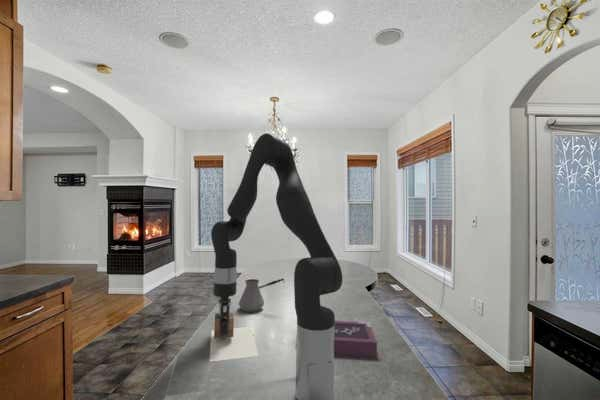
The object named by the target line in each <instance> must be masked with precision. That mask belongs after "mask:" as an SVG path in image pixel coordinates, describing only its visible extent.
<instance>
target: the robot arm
mask: <svg viewBox="0 0 600 400" xmlns="http://www.w3.org/2000/svg"><path fill="white" fill-rule="evenodd" d="M264 165H267V166H269V167H271V168H273V169H274V172H275V174H276V175H277V179H278V186H277V191H276V195H275V202H276V206H277V209H278V212H279V215H280V218H281V220H282V222H283V224H284V225H285V226H286V227H287V228H288V229H289V231H290V232H291V233H293V234H294V235H295V237H297V239H299V240H300V241H301V242H302V244H303V245H304V246H305V248H306V249H307V252H308V253H309V255H310V257H304V258H301V259H299V260H298V261H297V262H296V264H295V268H294V273H293V286H294V287H293V290H294V293H293V294H294V308H295V315H296V337H297V346H295V347H296V350H295V352H296V353H295V355H296V356H295V357H296V358H295V360H296V361H295V398H296V400H297V399H298V400H334V393H335V392H334V391H335V389H334V387H335V385H334V384H335V354H334V331H335V321H336V320H335V312H334V311H333V310H332V309H330V308H329V307H326V306H323V305H322V304H321V296H323V295H328V294H332V293H335V292H337V291H339V290H340V289H341V287H342V284H343V272H342V268H341V266H340V263H339V260H338V259H337V257H336V255H335V254H334V253H335V252H333V249H332V248H331V246H330V244H329V242H328V240H327V238H326V236H325V235H324V233H323V230H322V228H321V226H320V222H319V221H318V219H317V216H316V214H315V212H314V209H313V206H312V203H311V200H310V198H309V196H308V193H307V192H306V190H305V187H304V185H303V182H302V179H301V177H300V175H299V172H298V168H297V165H296V162H295V157H294V154H293V150H292V148H291V146H290V145H289V143H288V142H287V141H284V140H283V139H281V138H279V137H278V136H275V135H273V134H272V133H268V132H267V133H263V134H262V135H260V136H259V137H258V138H257V140H256V142H255V144H254V146H253V147H252V150H251V153H250V156H249V158H248V162H247V164H246V167H245V170H244V173H243V175H242V179H241V182H240V184H239V186H238V187H237V190H236V192H235V195H234V196H233V197H232V200H231V201H230V203H229V205H228V208H227V211H226V212H227V215H228V216H230V218H229V220H227V221H226V220H225V221H222V220H221V221H217V222H216V223H214V225H213V226H212V227H211V228H212V229H211V232H210V234H211V235H210V237H211V242H212V247H213V250H214V255H215V258H214V260H215V261H214V272H213V289H212V290H213V293H212V294H213V296H214V297H217V298H218V297H219V298H220V299H218V308H219V309H218V313H219V316H220V317H221V320H220V324H221V330H220V335H221V336H223V335H227V331H228V322H229V321H228V320H229V315H230V312H231V305H232V301H231V300H232V299H231V298H230V297H233V296H235V295H236V294H237V278H238V270H237V262H238V261H237V251H236V250H235V249H233V248H231V247H230V242H235V241H237V240H238V239H240V237H241V236H242V234H243V232H244V229H245V226H246V223H247V217H248V216H249V214H250V213H251V211H252V209H253V207H254V205H255V204H256V201H257V198H258V197H257V196H258V181H259V180H258V179H259V175H260V172H261V170H262V169H263V167H264ZM222 317H227V320H222Z"/></svg>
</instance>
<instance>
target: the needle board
mask: <svg viewBox="0 0 600 400" xmlns="http://www.w3.org/2000/svg"><path fill="white" fill-rule="evenodd" d="M222 318H226V317H222ZM210 332H211V333H210V334H211V335H210V346H209V347H210V348H209V349H210V350H209V359H208V360H209V361H208V362H209V363H212V362H221V361H229V360H236V359H246V358H253V357H254V358H255V357H259V355H260V354H259V352H258V347H257V345H256V340H255V337H254V333H253V330H252V327H251V326H245V327H234V329H233V337H228V338H218V339H214V329H213V330H211V331H210Z"/></svg>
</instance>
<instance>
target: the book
mask: <svg viewBox="0 0 600 400" xmlns="http://www.w3.org/2000/svg"><path fill="white" fill-rule="evenodd" d="M295 339H296V340H295V341H296V343H295V345H296V346H297V336H296V338H295ZM377 345H378V343H377V340H376V337H375V334H374V332H373V328H372V325H371V323H370V322H369V321H368V322H367V321H346V320H345V321H343V320H335V331H334V355H338V356H339V355H340V356H352V357H355V356H356V357H366V358H377V357H378V356H377V355H378V351H377V350H378V346H377ZM296 346H295V347H296Z"/></svg>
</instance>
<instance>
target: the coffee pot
mask: <svg viewBox="0 0 600 400" xmlns="http://www.w3.org/2000/svg"><path fill="white" fill-rule="evenodd" d="M244 282H245V284H246V285H245V288H244V291H243V293H242V295H241V297H240V299H239V301H238V306H239V308H240V309H241V310H242V311H243V312H246V313H255V312H259V311H260V310H261V309H263V308H262V307H264V305H265V300H264V298H263V295H262V293H261V290H260V289H262V288H264V287H268V286H272V285H275V284H278V283H280V282H283V284H285V282H286V281H285V279H284V278H280V279H278V280H272V281H270V282H268V283H266V284H263V285H261V286H259V282H260V280H259V279H255V278H254V279H253V278H250V279H246V280H245V281H244Z"/></svg>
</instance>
